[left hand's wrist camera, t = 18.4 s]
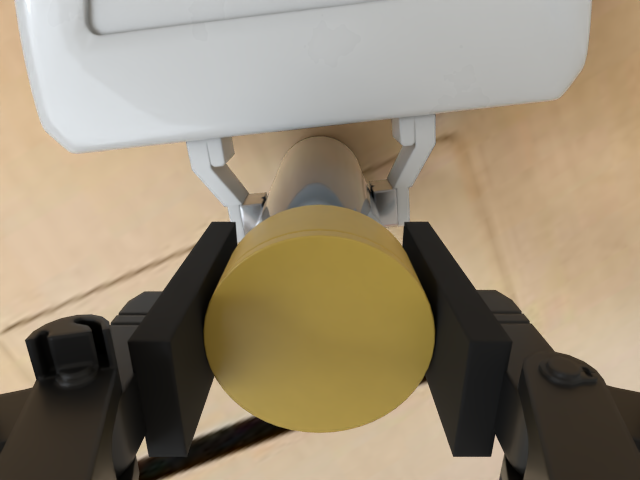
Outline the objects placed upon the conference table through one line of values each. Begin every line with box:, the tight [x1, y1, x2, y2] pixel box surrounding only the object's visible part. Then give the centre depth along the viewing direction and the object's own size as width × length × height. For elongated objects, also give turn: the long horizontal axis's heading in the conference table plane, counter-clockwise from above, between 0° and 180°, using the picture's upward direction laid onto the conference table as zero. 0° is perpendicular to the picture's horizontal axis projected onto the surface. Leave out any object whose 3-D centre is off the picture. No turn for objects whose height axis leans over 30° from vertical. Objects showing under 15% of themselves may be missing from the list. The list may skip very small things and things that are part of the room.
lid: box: [203, 205, 435, 433], centre depth 11 cm, size 5×5×2 cm
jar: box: [255, 136, 385, 227], centre depth 18 cm, size 5×5×16 cm
